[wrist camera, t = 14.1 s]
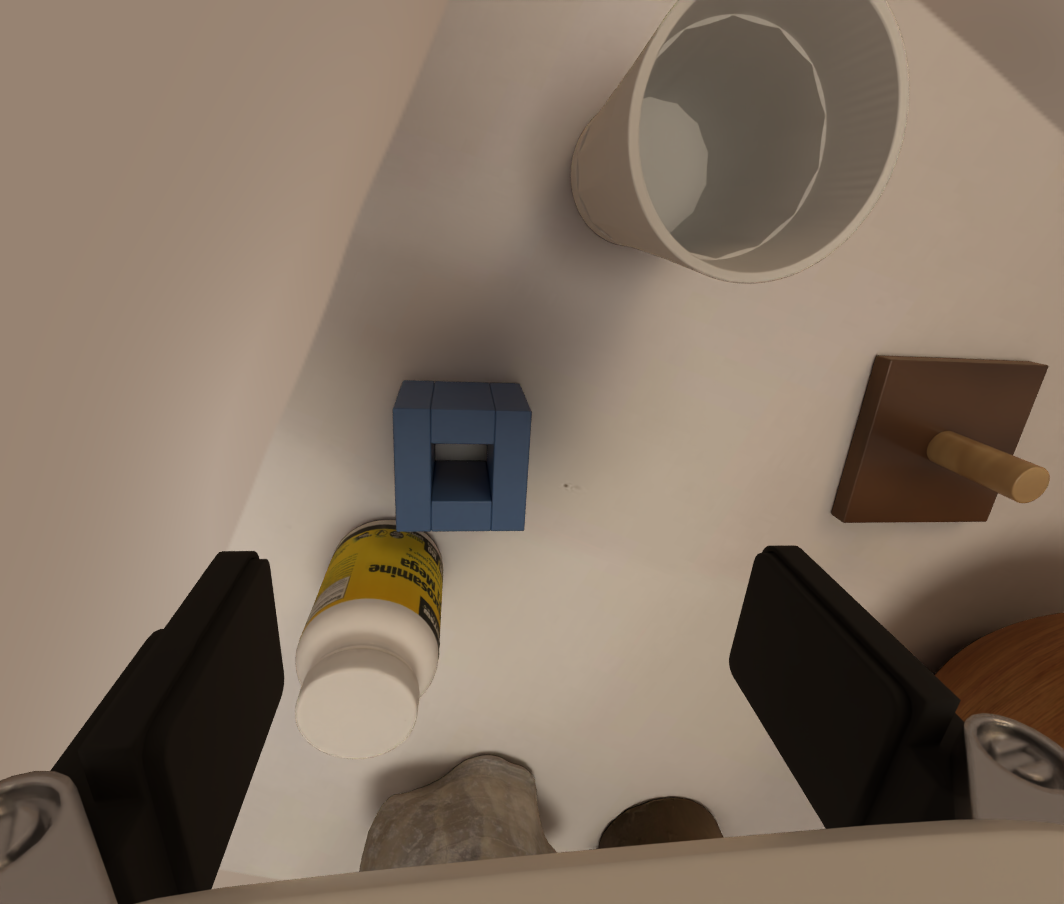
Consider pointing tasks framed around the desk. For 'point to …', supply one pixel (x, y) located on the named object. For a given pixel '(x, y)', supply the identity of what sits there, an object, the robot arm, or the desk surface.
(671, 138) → the cup
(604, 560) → the desk surface
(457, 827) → the decorative stone
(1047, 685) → the bowl
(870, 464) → the dowel stand
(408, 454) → the collar block
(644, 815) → the pillar candle
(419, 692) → the pill bottle
